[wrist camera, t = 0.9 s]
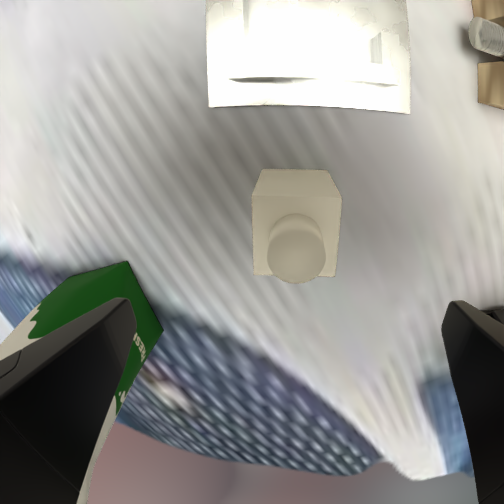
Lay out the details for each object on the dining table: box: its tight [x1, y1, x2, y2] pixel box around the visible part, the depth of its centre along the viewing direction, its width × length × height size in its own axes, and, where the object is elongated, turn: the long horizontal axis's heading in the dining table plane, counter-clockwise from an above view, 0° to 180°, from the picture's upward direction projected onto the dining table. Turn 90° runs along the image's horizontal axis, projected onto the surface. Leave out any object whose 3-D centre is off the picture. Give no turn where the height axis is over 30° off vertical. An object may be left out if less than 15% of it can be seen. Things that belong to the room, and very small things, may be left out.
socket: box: [206, 0, 411, 114], centre depth 13 cm, size 12×12×3 cm
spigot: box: [251, 169, 342, 284], centre depth 17 cm, size 4×4×8 cm
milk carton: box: [0, 261, 163, 504], centre depth 17 cm, size 9×9×20 cm
